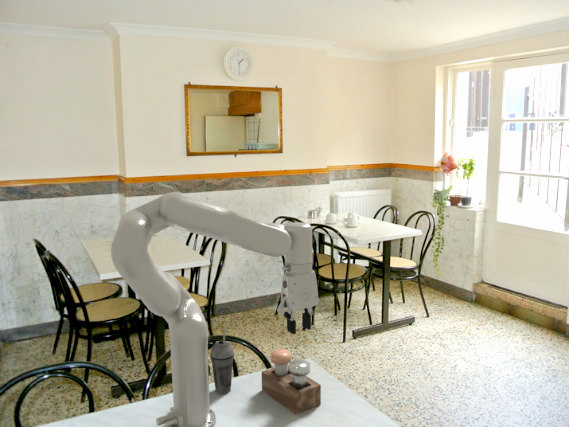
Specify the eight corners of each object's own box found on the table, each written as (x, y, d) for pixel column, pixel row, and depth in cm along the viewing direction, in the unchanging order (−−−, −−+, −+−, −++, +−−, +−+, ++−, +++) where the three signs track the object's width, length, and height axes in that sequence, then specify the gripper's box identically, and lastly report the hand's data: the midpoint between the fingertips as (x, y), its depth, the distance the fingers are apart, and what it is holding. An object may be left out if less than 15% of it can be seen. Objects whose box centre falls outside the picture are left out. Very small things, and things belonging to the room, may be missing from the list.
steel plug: (297, 396, 138) (297, 371, 137) (285, 387, 143) (284, 363, 141) (314, 389, 141) (314, 365, 140) (301, 381, 146) (301, 357, 145)
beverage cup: (208, 387, 152) (205, 325, 149) (230, 382, 155) (228, 321, 152) (215, 398, 146) (212, 334, 143) (238, 393, 149) (236, 330, 146)
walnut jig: (295, 414, 137) (295, 394, 136) (261, 390, 150) (261, 371, 150) (320, 404, 142) (320, 384, 141) (285, 381, 156) (285, 363, 155)
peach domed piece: (279, 383, 145) (278, 359, 144) (267, 376, 150) (267, 352, 149) (295, 377, 149) (295, 354, 147) (283, 370, 153) (283, 347, 152)
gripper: (281, 275, 129) (282, 342, 131) (330, 265, 138) (330, 327, 141) (265, 269, 135) (266, 333, 137) (313, 260, 144) (314, 319, 147)
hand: (299, 329), depth 139 cm, fingers open, 4 cm apart
